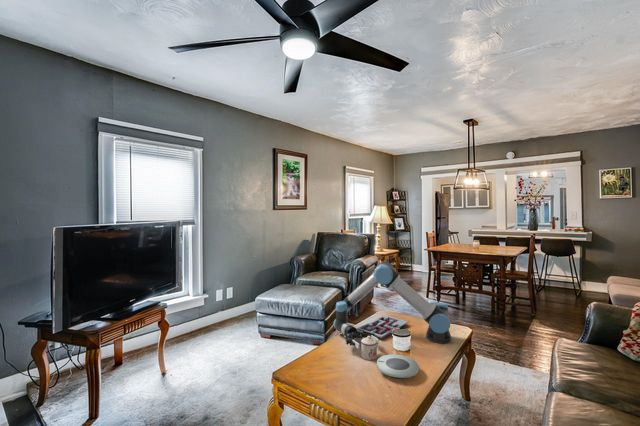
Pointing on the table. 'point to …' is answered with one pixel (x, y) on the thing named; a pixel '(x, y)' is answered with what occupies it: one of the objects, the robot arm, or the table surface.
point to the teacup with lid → (369, 348)
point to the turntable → (397, 366)
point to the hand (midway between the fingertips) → (368, 344)
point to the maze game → (382, 326)
